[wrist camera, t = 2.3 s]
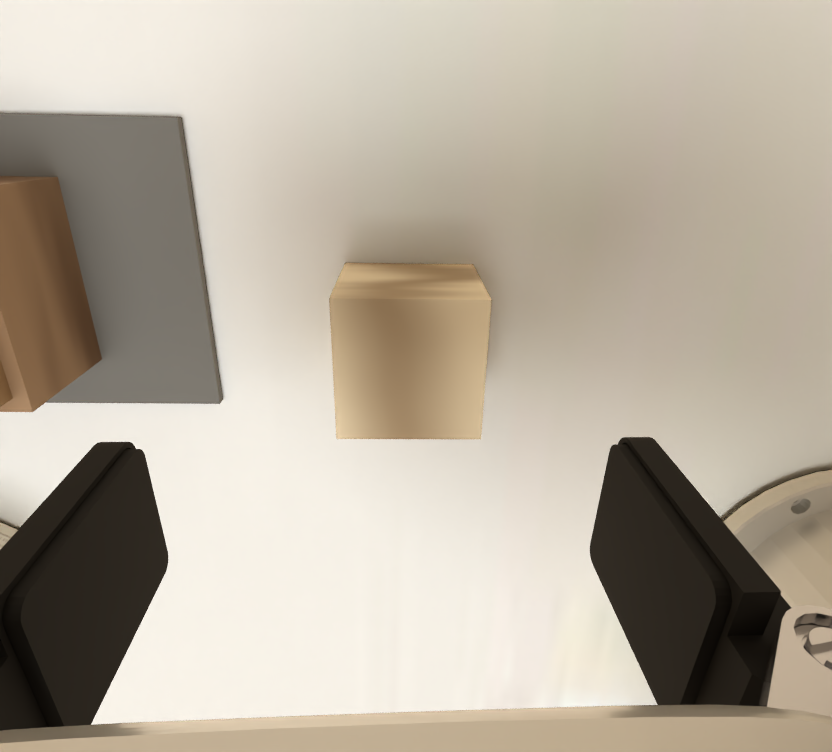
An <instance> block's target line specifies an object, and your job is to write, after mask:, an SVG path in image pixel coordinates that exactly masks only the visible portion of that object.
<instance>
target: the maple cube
mask: <svg viewBox="0 0 832 752" xmlns="http://www.w3.org/2000/svg"><path fill="white" fill-rule="evenodd" d="M491 301H492V300H491V298H490V296H489V294H488V292H487V290H486V288H485V286H484V284H483V283H482V281H481V279H480V277H479V275H478V273H477V271H476V269H475V267H474V265H473V264H404V263H345V264H344V267H343V269H342V271H341V273H340V275H339V278H338V280H337V282H336V284H335V287H334V289H333V291H332V293H331V296H330V298H329V303H330V322H331V341H332V361H333V380H334V399H335V419H336V438H337V439H481V431H482V418H483V405H484V392H485V379H486V366H487V353H488V340H489V327H490V314H491Z"/></svg>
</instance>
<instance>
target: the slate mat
mask: <svg viewBox="0 0 832 752" xmlns="http://www.w3.org/2000/svg"><path fill="white" fill-rule="evenodd" d="M0 176H25V177H58V180H59V184H60V188H61V192H62V196H63V201H64V205H65V209H66V213H67V217H68V221H69V225H70V229H71V233H72V238H73V242H74V246H75V250H76V254H77V258H78V262H79V266H80V270H81V275H82V279H83V283H84V287H85V291H86V295H87V299H88V303H89V308H90V312H91V316H92V320H93V324H94V328H95V332H96V336H97V340H98V345H99V349H100V353H101V357H102V360H101V361H99V362H98V363H97V364H95V365H94V366H93V367H91V368H90V369H89V370H87V371H86V372H85V373H84V374H82V375H81V376H80V377H78V378H77V379H76V380H74V381H73V382H72V383H70V384H69V385H68V386H66V387H65V388H64V389H62V390H61V391H60V392H58V393H57V394H56V395H54V396H53V397H52V398H51V399H49V400H48V401H47V402H49V403H200V404H220V403H221V401H222V400H223V398H222V391H221V384H220V377H219V370H218V364H217V357H216V350H215V343H214V336H213V329H212V323H211V316H210V309H209V302H208V295H207V289H206V282H205V275H204V268H203V261H202V255H201V248H200V241H199V234H198V227H197V220H196V214H195V207H194V200H193V193H192V186H191V180H190V173H189V166H188V159H187V152H186V146H185V139H184V132H183V125H182V118H181V117H147V116H100V115H53V114H6V113H0Z"/></svg>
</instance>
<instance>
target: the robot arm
mask: <svg viewBox="0 0 832 752" xmlns="http://www.w3.org/2000/svg"><path fill="white" fill-rule="evenodd" d="M590 556H591V560H592V563H593V566H594V568H595V570H596V572H597V574H598V576H599V579H600V581H601V583H602V585H603V587H604V589H605V592H606V594H607V596H608V598H609V600H610V602H611V605H612V607H613V609H614V611H615V613H616V615H617V618H618V620H619V622H620V624H621V626H622V628H623V631H624V633H625V635H626V637H627V639H628V641H629V644H630V646H631V648H632V650H633V652H634V654H635V657H636V659H637V661H638V663H639V665H640V667H641V670H642V672H643V674H644V676H645V678H646V680H647V683H648V685H649V687H650V689H651V691H652V693H653V696H654V698H655V700H656V702H657V704H658V705H633V706H590V707H556V708H522V709H487V710H455V711H426V712H397V713H368V714H340V715H313V716H285V717H260V718H235V719H211V720H186V721H162V722H138V723H115V724H98V725H91V723H92V721H93V719H94V717H95V715H96V713H97V711H98V709H99V707H100V705H101V703H102V701H103V699H104V697H105V694H106V692H107V690H108V688H109V686H110V684H111V682H112V680H113V678H114V676H115V674H116V672H117V670H118V668H119V666H120V664H121V662H122V660H123V658H124V656H125V654H126V652H127V650H128V648H129V646H130V644H131V642H132V640H133V638H134V635H135V633H136V631H137V629H138V627H139V625H140V623H141V621H142V619H143V617H144V615H145V613H146V611H147V609H148V607H149V605H150V603H151V601H152V599H153V597H154V595H155V593H156V591H157V589H158V587H159V585H160V583H161V581H162V579H163V576H164V574H165V572H166V569H167V565H168V551H167V547H166V543H165V539H164V534H163V530H162V526H161V522H160V517H159V513H158V509H157V505H156V500H155V496H154V492H153V488H152V484H151V479H150V475H149V471H148V467H147V462H146V458H145V455H144V452H143V451H142V450H140V449H136V448H135V446H134V445H133V444H132V443H130V442H100V443H97V444H96V445H94V446H93V447H92V449H91V450H90V451H89V452H88V453H87V454H86V455H85V456H84V457H83V459H82V460H81V461H80V462H79V463H78V464H77V465H76V466H75V467H74V469H73V470H72V471H71V472H70V473H69V474H68V475H67V476H66V477H65V478H64V480H63V481H62V482H61V483H60V484H59V485H58V486H57V487H56V488H55V490H54V491H53V492H52V493H51V494H50V495H49V496H48V497H47V498H46V500H45V501H44V502H43V503H42V504H41V505H40V506H39V507H38V508H37V510H36V511H35V512H34V513H33V514H32V515H31V516H30V517H29V518H28V519H27V521H26V522H25V523H24V524H23V525H22V526H21V527H20V528H19V529H18V531H17V532H16V533H15V534H14V535H13V536H12V537H11V538H10V539H9V541H8V542H7V543H6V544H5V545H4V546H3V547H2V548H1V549H0V752H832V470H827V471H820V472H815V473H812V474H809V475H805V476H802V477H799V478H795V479H792V480H789V481H787V482H784V483H782V484H780V485H778V486H776V487H773V488H771V489H769V490H767V491H765V492H763V493H761V494H760V495H758V496H757V497H755V498H753V499H752V500H750V501H749V502H747V503H745V504H744V505H742V506H741V507H740V508H739V509H738V510H736V511H735V512H734V513H733V514H732V515H730V516H729V517H728V518H727V519H726V520H724V521H722V520H721V519H720V517H719V516H718V515H717V514H716V513H715V511H714V510H713V509H712V508H711V507H710V505H709V504H708V503H707V502H706V501H705V499H704V498H703V497H702V496H701V495H700V493H699V492H698V491H697V490H696V489H695V487H694V486H693V485H692V484H691V483H690V481H689V480H688V479H687V478H686V477H685V476H684V474H683V473H682V472H681V471H680V470H679V468H678V467H677V466H676V465H675V464H674V462H673V461H672V460H671V459H670V458H669V456H668V455H667V454H666V453H665V452H664V450H663V449H662V448H661V447H660V446H659V444H658V443H657V442H656V441H655V440H654V439H653V438H650V437H624V438H622V439H621V440H620V441H619V443H618V445H613V446H612V447H611V449H610V452H609V457H608V461H607V466H606V471H605V476H604V481H603V486H602V490H601V495H600V500H599V505H598V510H597V515H596V519H595V524H594V529H593V534H592V539H591V543H590Z"/></svg>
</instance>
